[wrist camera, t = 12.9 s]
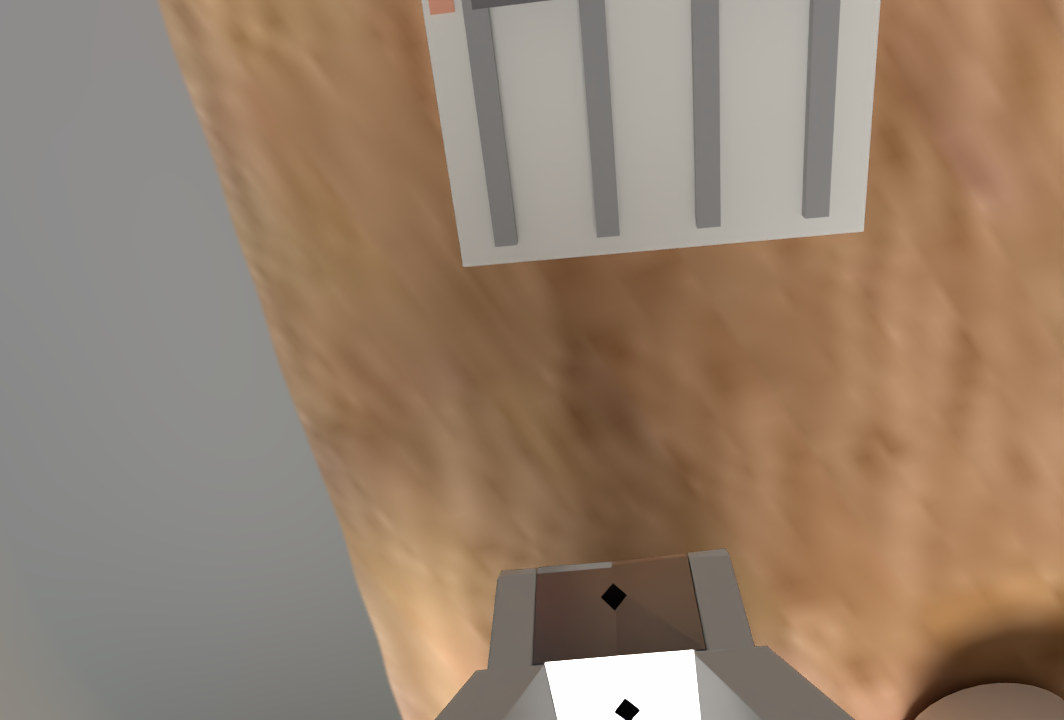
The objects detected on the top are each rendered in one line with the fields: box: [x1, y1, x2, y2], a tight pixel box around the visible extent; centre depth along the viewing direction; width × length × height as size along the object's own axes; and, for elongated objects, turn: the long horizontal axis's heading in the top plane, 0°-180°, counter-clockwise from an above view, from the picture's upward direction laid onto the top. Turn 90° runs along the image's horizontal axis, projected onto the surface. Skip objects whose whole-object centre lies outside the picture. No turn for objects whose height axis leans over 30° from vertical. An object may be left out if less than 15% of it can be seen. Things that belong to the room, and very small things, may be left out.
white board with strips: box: [421, 0, 881, 267], centre depth 32 cm, size 18×18×3 cm
